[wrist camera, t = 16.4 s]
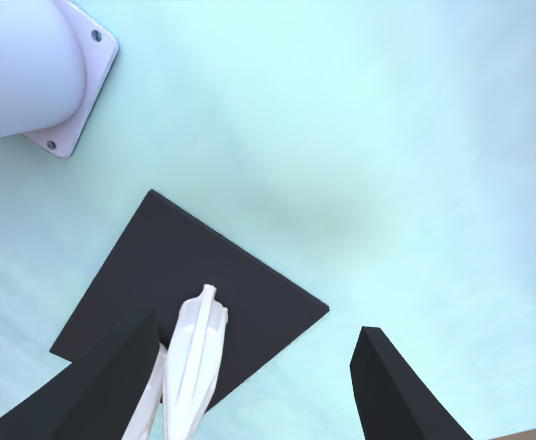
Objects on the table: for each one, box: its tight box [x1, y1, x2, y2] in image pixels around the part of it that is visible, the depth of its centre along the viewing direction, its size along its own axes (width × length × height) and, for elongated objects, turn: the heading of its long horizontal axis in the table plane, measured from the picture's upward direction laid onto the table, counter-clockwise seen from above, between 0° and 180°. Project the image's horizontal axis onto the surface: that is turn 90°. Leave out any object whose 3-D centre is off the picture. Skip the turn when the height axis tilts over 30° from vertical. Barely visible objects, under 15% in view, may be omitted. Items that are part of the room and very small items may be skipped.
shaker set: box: [121, 284, 228, 440], centre depth 19 cm, size 12×4×11 cm, turn 132°
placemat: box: [49, 189, 330, 414], centre depth 24 cm, size 16×20×1 cm
